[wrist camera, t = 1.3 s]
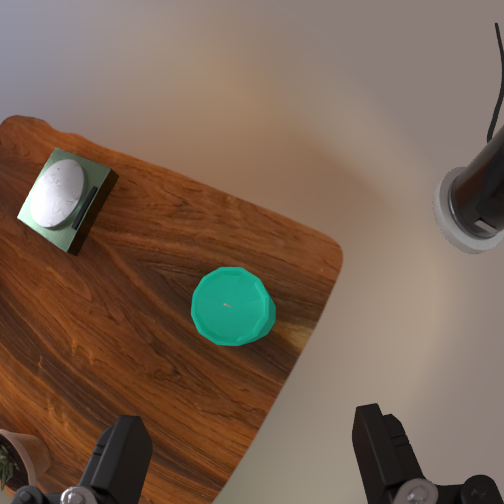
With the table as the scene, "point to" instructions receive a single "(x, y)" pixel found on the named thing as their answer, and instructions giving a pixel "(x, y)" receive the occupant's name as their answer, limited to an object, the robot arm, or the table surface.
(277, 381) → the table surface
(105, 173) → the scale
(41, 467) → the potted plant
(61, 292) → the table surface
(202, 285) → the candle
